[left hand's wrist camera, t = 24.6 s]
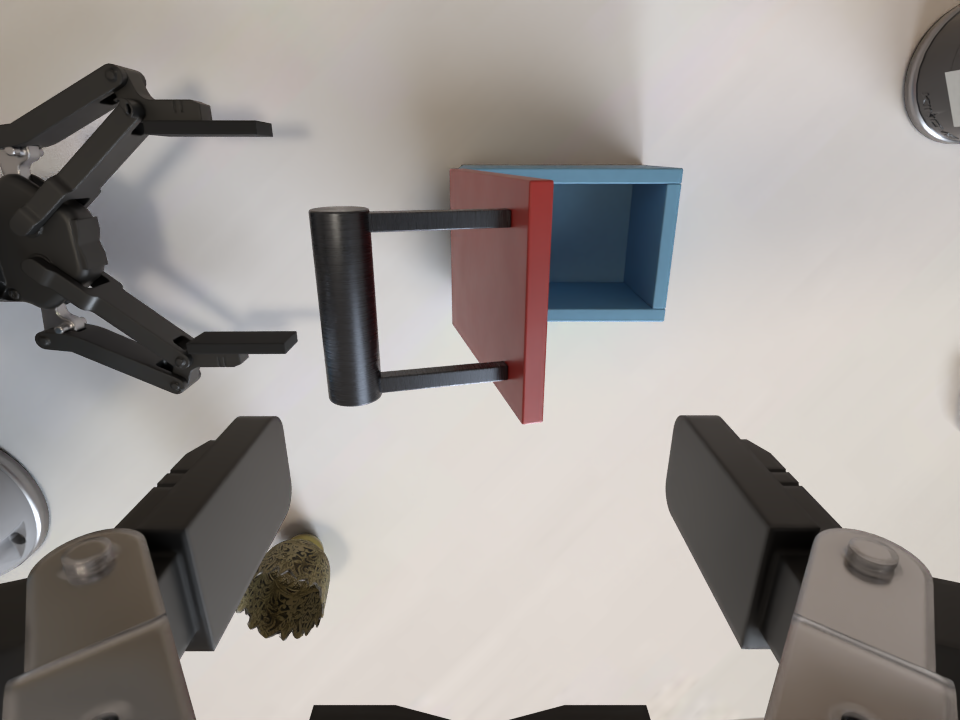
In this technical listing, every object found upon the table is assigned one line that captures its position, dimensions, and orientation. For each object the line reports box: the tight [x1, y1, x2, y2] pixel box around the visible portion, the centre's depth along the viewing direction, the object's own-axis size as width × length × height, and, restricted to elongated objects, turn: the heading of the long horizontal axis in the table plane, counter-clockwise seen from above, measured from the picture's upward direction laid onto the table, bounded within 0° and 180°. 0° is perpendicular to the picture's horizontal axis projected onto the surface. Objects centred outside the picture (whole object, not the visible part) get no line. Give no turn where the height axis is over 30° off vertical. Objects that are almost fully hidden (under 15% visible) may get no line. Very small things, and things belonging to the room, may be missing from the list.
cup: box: [236, 533, 330, 641], centre depth 50 cm, size 8×7×8 cm
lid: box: [309, 169, 554, 424], centre depth 27 cm, size 14×10×9 cm
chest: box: [458, 165, 683, 321], centre depth 39 cm, size 14×10×9 cm
